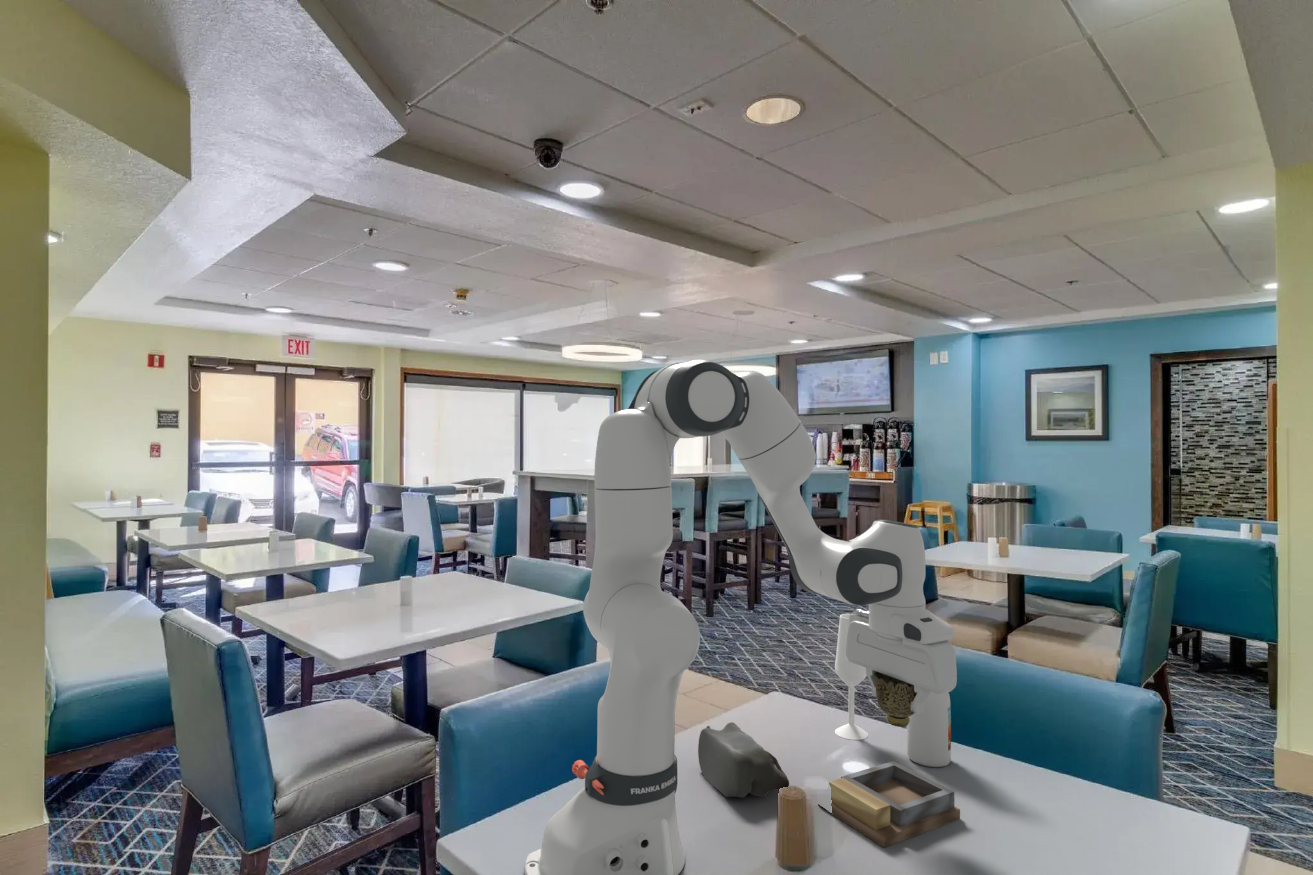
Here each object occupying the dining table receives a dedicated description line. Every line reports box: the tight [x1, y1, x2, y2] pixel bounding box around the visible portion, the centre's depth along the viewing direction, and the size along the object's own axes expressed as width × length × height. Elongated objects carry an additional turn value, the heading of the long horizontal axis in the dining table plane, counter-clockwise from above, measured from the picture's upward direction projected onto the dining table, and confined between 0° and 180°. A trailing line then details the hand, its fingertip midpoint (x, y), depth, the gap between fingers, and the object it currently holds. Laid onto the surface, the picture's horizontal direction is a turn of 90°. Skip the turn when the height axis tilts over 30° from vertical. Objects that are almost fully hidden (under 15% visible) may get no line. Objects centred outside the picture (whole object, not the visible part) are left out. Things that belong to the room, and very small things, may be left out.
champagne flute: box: [834, 613, 869, 741], centre depth 145 cm, size 7×7×24 cm
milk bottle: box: [906, 691, 952, 768], centre depth 133 cm, size 8×8×20 cm
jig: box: [828, 760, 961, 849], centre depth 113 cm, size 17×14×4 cm
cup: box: [874, 671, 917, 728], centre depth 114 cm, size 8×7×8 cm
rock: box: [697, 722, 790, 798], centre depth 123 cm, size 18×11×8 cm, turn 22°
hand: (897, 703), depth 114 cm, fingers closed on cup, 6 cm apart
